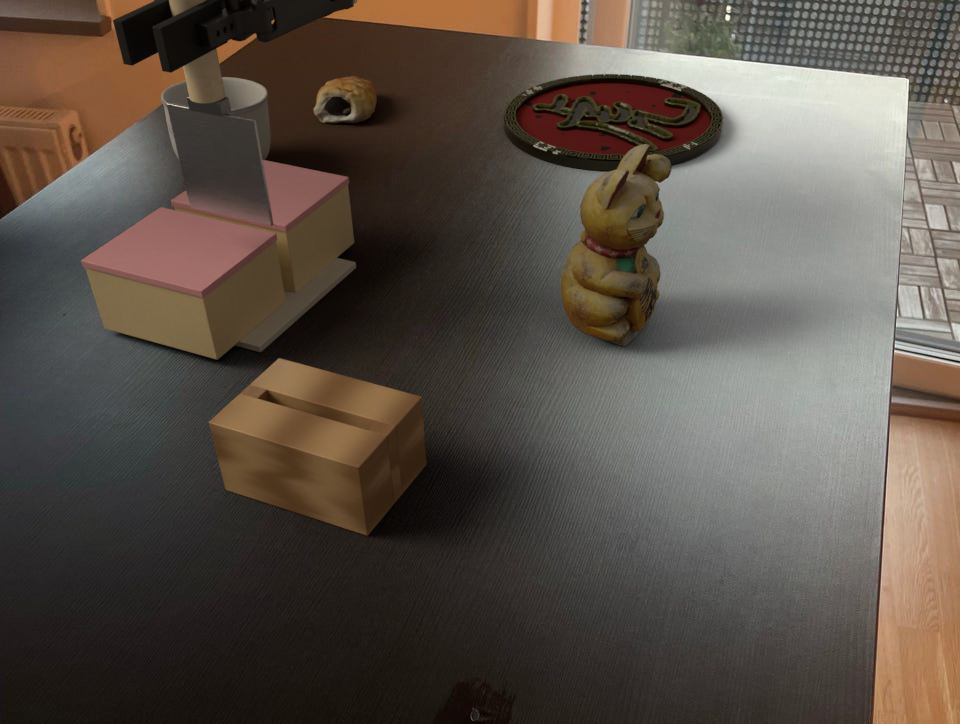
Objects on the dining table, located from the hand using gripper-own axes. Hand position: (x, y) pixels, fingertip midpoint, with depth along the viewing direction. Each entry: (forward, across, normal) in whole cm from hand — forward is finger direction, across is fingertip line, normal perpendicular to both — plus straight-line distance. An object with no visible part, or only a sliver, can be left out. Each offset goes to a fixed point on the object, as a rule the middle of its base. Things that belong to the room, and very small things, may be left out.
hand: (142, 46), depth 69 cm
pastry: (-50, +18, -24) cm, 58 cm away
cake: (-10, +5, -24) cm, 27 cm away
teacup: (-30, +20, -24) cm, 44 cm away
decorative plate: (-59, -12, -24) cm, 65 cm away
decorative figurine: (-19, -28, -24) cm, 41 cm away
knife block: (+10, -17, -24) cm, 31 cm away
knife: (-5, 0, -14) cm, 15 cm away
